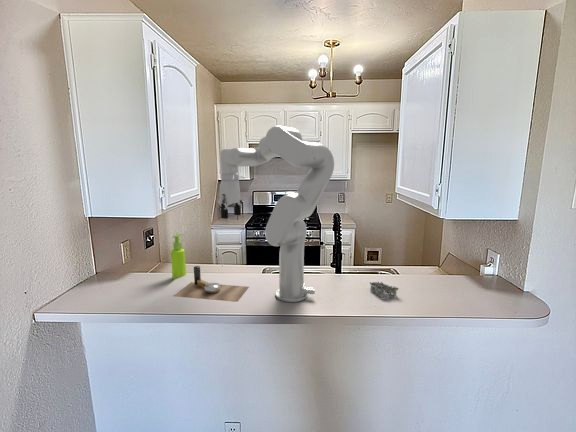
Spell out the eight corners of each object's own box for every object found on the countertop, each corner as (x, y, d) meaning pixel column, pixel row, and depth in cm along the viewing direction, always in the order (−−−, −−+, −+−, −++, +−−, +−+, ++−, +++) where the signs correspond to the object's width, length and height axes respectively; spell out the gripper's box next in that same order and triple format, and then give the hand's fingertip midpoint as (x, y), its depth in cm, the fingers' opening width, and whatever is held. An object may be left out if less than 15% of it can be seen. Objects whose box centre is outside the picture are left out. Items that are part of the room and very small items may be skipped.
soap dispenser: (189, 274, 142) (186, 233, 139) (182, 280, 136) (180, 236, 132) (177, 274, 143) (174, 233, 140) (170, 279, 136) (167, 236, 133)
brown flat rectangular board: (249, 290, 125) (249, 286, 125) (237, 305, 111) (237, 300, 111) (191, 285, 130) (191, 281, 129) (173, 299, 116) (173, 295, 116)
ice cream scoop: (223, 290, 120) (222, 273, 119) (210, 294, 116) (209, 277, 115) (202, 280, 131) (201, 264, 129) (189, 284, 126) (188, 268, 125)
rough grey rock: (399, 298, 118) (399, 288, 117) (382, 300, 116) (383, 290, 115) (383, 287, 128) (383, 278, 127) (367, 289, 126) (368, 280, 125)
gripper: (234, 177, 141) (235, 213, 144) (210, 178, 126) (212, 219, 129) (248, 177, 138) (248, 214, 141) (225, 179, 123) (226, 220, 126)
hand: (231, 216), depth 135 cm, fingers open, 9 cm apart
